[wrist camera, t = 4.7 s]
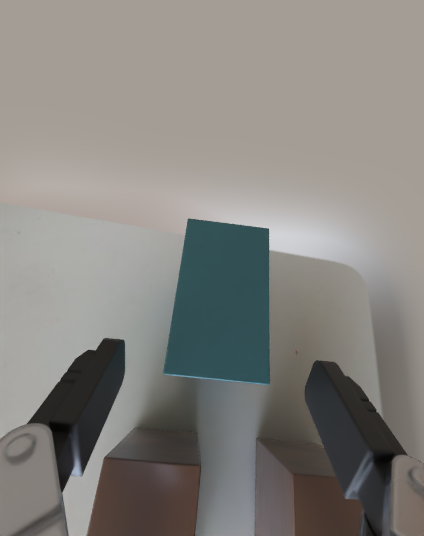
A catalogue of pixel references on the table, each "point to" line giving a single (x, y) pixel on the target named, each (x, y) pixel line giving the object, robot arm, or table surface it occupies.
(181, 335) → the teal block
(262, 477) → the walnut block
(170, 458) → the walnut block
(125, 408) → the table surface
